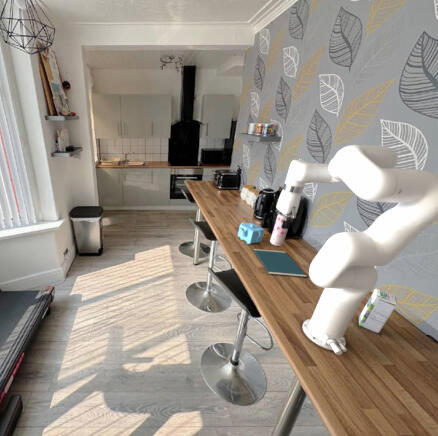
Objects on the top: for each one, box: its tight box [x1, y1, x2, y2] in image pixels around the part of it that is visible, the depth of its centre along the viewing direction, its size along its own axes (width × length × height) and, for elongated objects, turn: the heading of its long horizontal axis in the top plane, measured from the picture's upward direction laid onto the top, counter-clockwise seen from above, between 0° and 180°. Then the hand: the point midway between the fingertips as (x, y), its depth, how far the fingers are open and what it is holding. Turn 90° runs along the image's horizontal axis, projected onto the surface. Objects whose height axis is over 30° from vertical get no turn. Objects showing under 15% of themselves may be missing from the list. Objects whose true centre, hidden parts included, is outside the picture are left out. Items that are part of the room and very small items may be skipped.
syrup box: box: [358, 288, 398, 334], centre depth 86 cm, size 6×6×14 cm
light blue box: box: [237, 222, 265, 245], centre depth 146 cm, size 16×18×11 cm
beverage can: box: [269, 213, 290, 247], centre depth 112 cm, size 6×6×15 cm
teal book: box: [253, 248, 308, 278], centre depth 127 cm, size 24×18×1 cm
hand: (281, 225), depth 111 cm, fingers closed on beverage can, 5 cm apart
